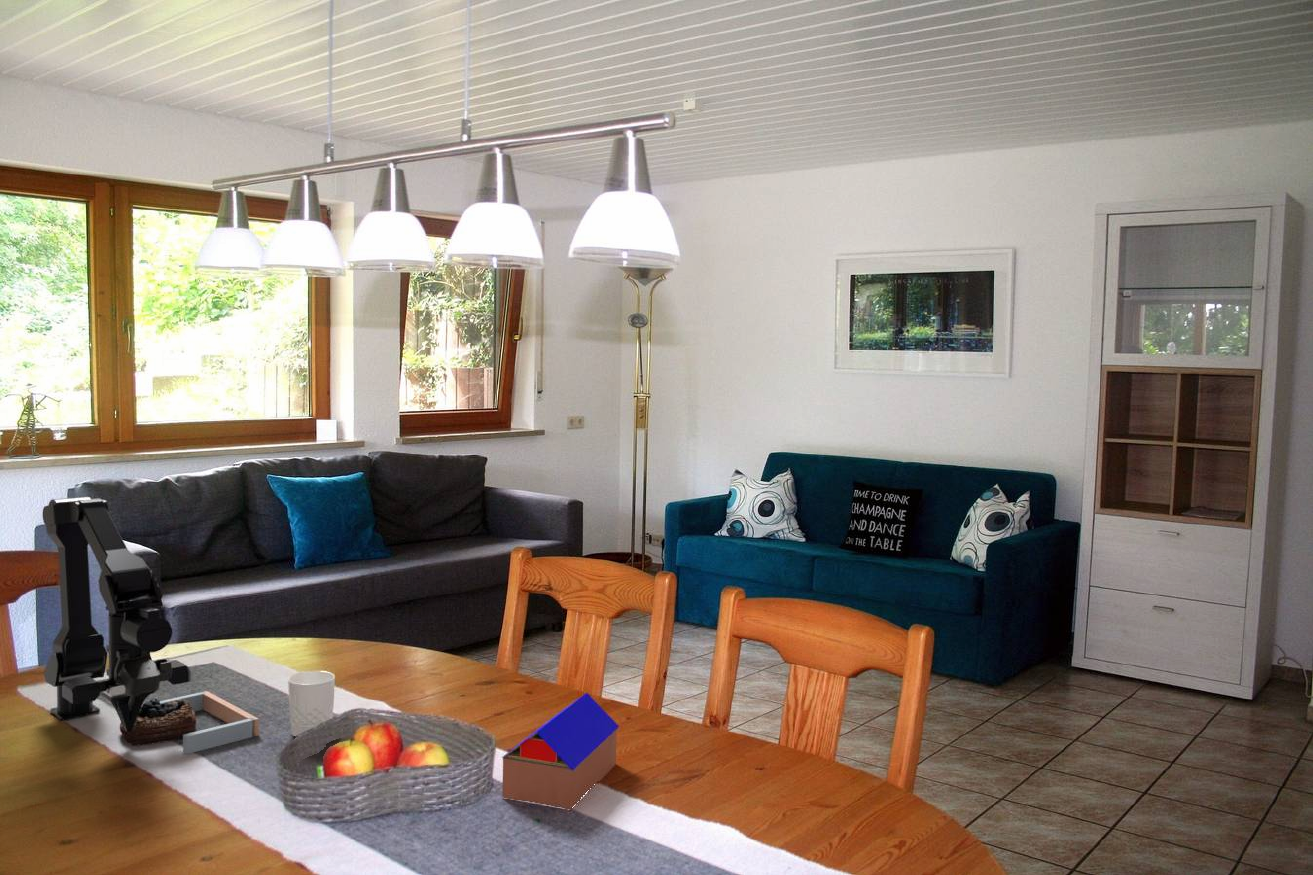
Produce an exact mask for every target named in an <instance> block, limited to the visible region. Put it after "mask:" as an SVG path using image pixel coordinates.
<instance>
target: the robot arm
mask: <svg viewBox="0 0 1313 875" xmlns="http://www.w3.org/2000/svg"><path fill="white" fill-rule="evenodd" d="M42 521H43V524H44V525H45V529H46V534H47V536H48V537H49V538H50V539H51V540H52V541H53V543H54V544H55V545H56V547H57V550H58V553H57V554H58V570H59V571H58V572H59V574H58V575H59V593H60V610H61V611H60V612H61V628H60V630H59V631H58V633H57V635H56V636H55V639H54V640H53V641H52V653H51V654H50V657H49V658H48V661H47V663H46V665H45V666H44V669H43V673H44V682H45V683H47V684H49V685H50V686H51V687H54V688H55V687H56V706H57V707H52V708H50V713H51V714H53V715H54V716H56V718H58V719H59V720H62V721H64V720H68V719H69V720H70V719H73V718H78V716H79V717H83V716H88V715H91V714H92V713H93V714H97V713H99V712H101V709H100V708H99V707H98V706H96V705H95V704H94V702H95V701H96V700H97V699H98V698H99V696H102V697H103V698H105V699H106V700H108V701H109V702H110V703H111V704H112V705H113V708H114V709H115V711H116V713H117V716H118V718H119V720H120V723H122V725H123V727H124V729H125V731H126V732H129V731H132V729H133V726H134V723H135V721H136V718H137V715H138V713H139V710H140V708H141V706H142V705H143V704H144V703H145V700H146V699H147V698H148V697H149V696H150V695H151V694H152V695H153V694H155V693H156V692H157V691H159V690H160V689H159V688H160V683H161V682H166V681H167V682H168V683H170V684H171V685H173V686H175V685H181V684H185V683H189V682H191V669H190V666H188V665H187V664H185V663H183V662H180V661H179V660H177V659H174V660H171V659H170V657H164V658H158V659H152V656H151V653H157V652H158V651H159V652H160V651H161V650H163V649H164V648H165V647H167V645H169V643H170V641H171V640H172V637H173V628H172V626H171V623H170V622H169V621H168V620H167V619H166V618H164V617H162V616H160V615H161V614H160V613H161V611H160V609H159V608H160V607H163V605H164V604H163V600H162V598H163V597H164V596H163V593H162V591H161V588H160V586H159V584H158V582H157V579H156V577H155V575H154V573H153V571H152V570H151V569H150V567H149V566H148V565H147V564H146V562H145V560H144V559H143V558H142V557H140V556H138V555H137V554H134V553H132V552H131V551H129V548H128V547H127V545H126V544H125V542H124V540H123V538H122V535H121V534H120V532H119V530H118V528H117V526H116V524H115V522H114V521H113V519H112V517H111V515H110V513H109V505H108V502H107V500H105V499H101V498H91V497H89V496H80V497H64V498H54V499H53V498H52V499H50V501H49V502H48V505H45V506H44V507H43V509H42ZM89 547H90V549H91V551H92V553H93V555H94V557H95V559H96V561H97V563H98V565H99V568H100V570H101V571H100V574H99V578H98V588H99V593H100V595H101V597H102V598H103V601H104V603H105V610H106V611H108V618H107V619H108V644H106V645H105V638H104V636H103V634H101V633H99V631H98V630H97V629H96V628H95V627H94V625H93V621H92V604H91V584H90V582H91V581H90V565H89ZM148 596H149V597H148ZM107 660H108V661H107ZM107 662H108V668H106V667H107V666H106V665H107ZM105 673H106V676H108V678H104V676H105ZM98 678H104V679H99V680H96V679H98ZM87 714H88V715H87ZM93 714H92V715H93Z"/></svg>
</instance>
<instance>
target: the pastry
mask: <svg viewBox="0 0 1313 875" xmlns="http://www.w3.org/2000/svg"><path fill="white" fill-rule="evenodd" d="M159 701H161V700H160V699H159V700H158V699H157V698H151V699H150V701H146V702H143V704H142V706H141V708H140V710H139V713H138V715H137V718H136V721H135V723H134V726H133V729H132V731H129V732H126V731H125V729H124V727H123V725H122V723H121V722H120V723H119V732H120V733H121V734H122V737H123V740H125V741H126V742H127V743H128V744H130V743H131V745H132V747H136V746H145V745H151V744H152V743H153V744H158V742H159V743H164V742H165V741H166V742H171V741H178V740H182V741H183V735H184V734H189V733H193V732H196V725H197V717H196V711H195V712H194V711H193V709H192V707H190V706H189V705H190V704H189V702H187V701H185V700H183V699H179V700H175V701H171V702H170V703H167V702H165V703H163V704H161V703H160V702H159ZM166 742H165V743H166Z"/></svg>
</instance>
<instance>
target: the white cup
mask: <svg viewBox="0 0 1313 875" xmlns="http://www.w3.org/2000/svg"><path fill="white" fill-rule="evenodd" d="M335 681H336V674H334V673H332V672H330V671H325V670H310V671H309V670H308V671H302V672H297V673H294V674H292V675H290V676H289V677H288V679H287V684H288V686H287V687H288V707H289V718H290V726H291V727H290V728H291V731H290V732H291V735H292V736H293V737H294V736H296V735H298V734H300V733H302V732H304V731H306V730H308V729H311V728H313V727H315V726H317V725H319V724H320V723H322V722H325V721H326V720H329V719H331V718H332V719H333V716H334V712H333V711H334V703H335V702H334V701H335V700H334V699H335V684H336V683H335Z"/></svg>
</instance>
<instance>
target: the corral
mask: <svg viewBox="0 0 1313 875" xmlns="http://www.w3.org/2000/svg"><path fill="white" fill-rule="evenodd" d="M179 699H183V700H185V701H187V702H189V704H190V705H189V706H190V707H192V709H193V711H194V712H195V713H196V712H199V711H204V712H207V713H209V714H210V715H212V716H214V717H216V718H218V719H219V720H221V721H223V722H225V724H220V725H217V726H213V727H209V728H206V729H205V728H204V729H201V730H196V731H195V732H193V733H189V734H184V735H183V739H182V753H183V752H184V754H185V755H189V754H192V753H196V752H201V751H205V750H208V749H211V748H216V747H219V746H223V745H227V744H230V743H231V744H232V743H235V742H238V741H242V740H246V739H250V738H254V737H258V736H260V735H259V734H260V733H259V732H260V728H259V727H260V726H259V725H260V722H259V721H260V720H259V718H258V717H256V716H254V715H253V714H251V713H249V712H247V711H245V710H243V709H241V708H239V707H238V706H236V705H234V704H232V703H230V702H228V701H227V700H224V699H223V698H221V697H219V696H218V695H215V694H214V693H211V692H209V691H207V690H205V691H200V692H196V693H192V694H188V695H187V694H186V695H183V696H178V697H174V698H168V699H165V700H160V701H159V702H160V703H161V704H163V703H165V702H167V703H170V702H171V701H175V700H179Z"/></svg>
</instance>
